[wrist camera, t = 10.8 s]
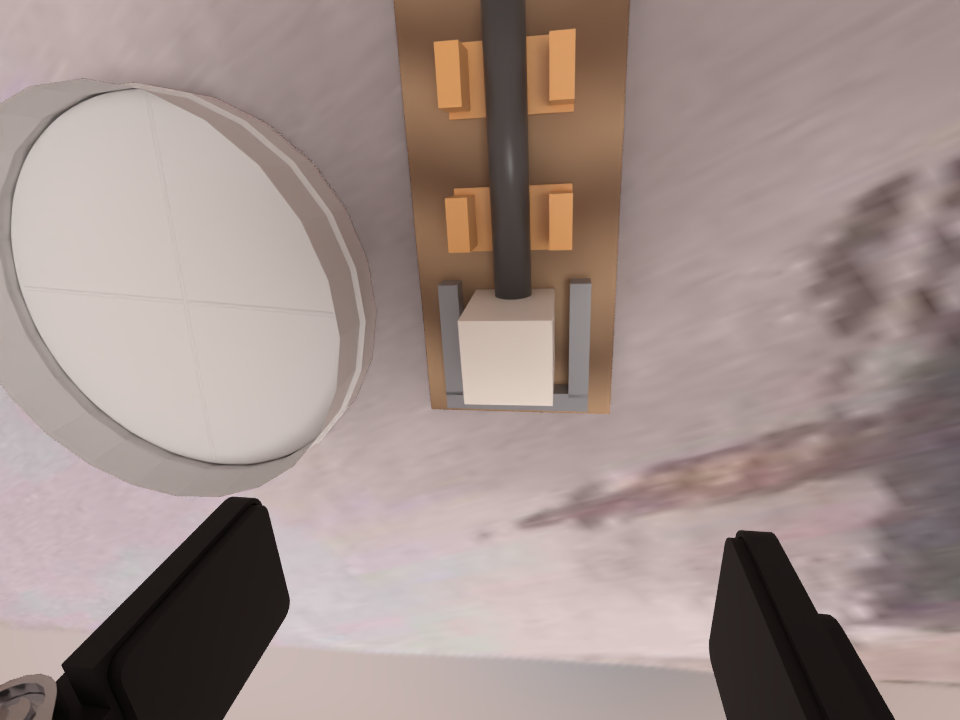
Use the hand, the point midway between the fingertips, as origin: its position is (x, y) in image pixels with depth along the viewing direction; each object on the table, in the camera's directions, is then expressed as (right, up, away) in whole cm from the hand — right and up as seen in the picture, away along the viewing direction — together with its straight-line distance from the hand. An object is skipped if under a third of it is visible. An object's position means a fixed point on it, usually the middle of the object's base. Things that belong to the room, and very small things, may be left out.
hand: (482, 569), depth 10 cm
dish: (-17, +8, +20) cm, 28 cm away
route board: (+2, +13, +15) cm, 20 cm away
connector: (+1, +12, +14) cm, 18 cm away
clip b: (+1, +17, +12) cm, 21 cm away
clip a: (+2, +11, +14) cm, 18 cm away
